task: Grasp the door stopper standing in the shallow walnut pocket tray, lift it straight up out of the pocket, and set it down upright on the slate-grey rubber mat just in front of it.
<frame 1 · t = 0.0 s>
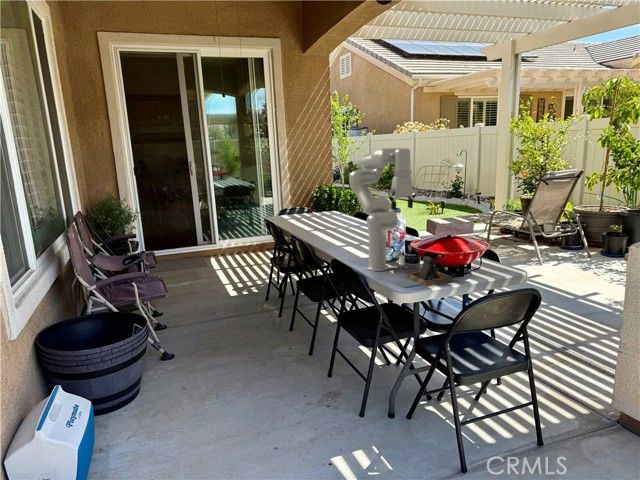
hand: (402, 208, 222), 37 cm above the table, tool pointing down, fingers open, 9 cm apart
rubber mat: (406, 283, 221), on the table
pocket block: (428, 279, 226), on the table
door stopper: (428, 280, 226), resting in pocket block
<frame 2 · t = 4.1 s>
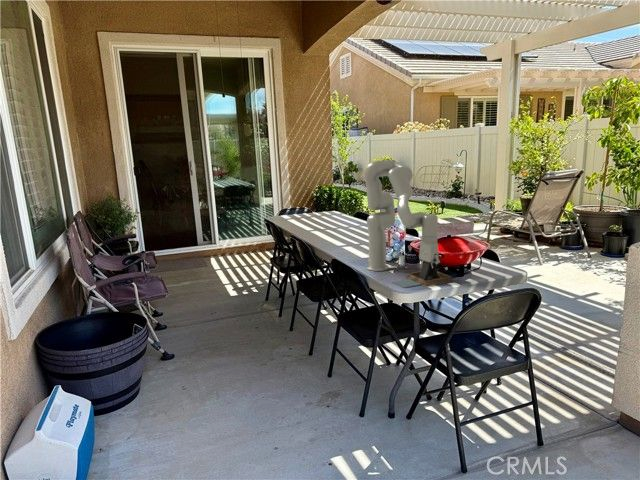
hand: (428, 273, 225), 4 cm above the table, tool pointing down, fingers closed on door stopper, 6 cm apart
door stopper: (428, 280, 226), resting in pocket block, touching gripper
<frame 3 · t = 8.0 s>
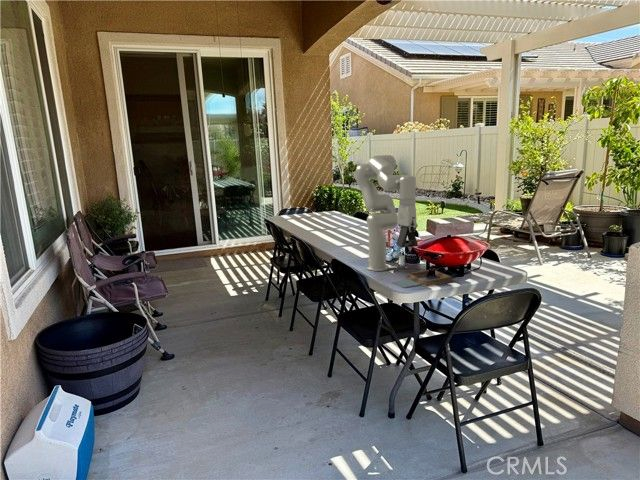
hand: (407, 238, 216), 23 cm above the table, tool pointing down, fingers closed on door stopper, 6 cm apart
door stopper: (406, 246, 217), point 19 cm above the table, touching gripper
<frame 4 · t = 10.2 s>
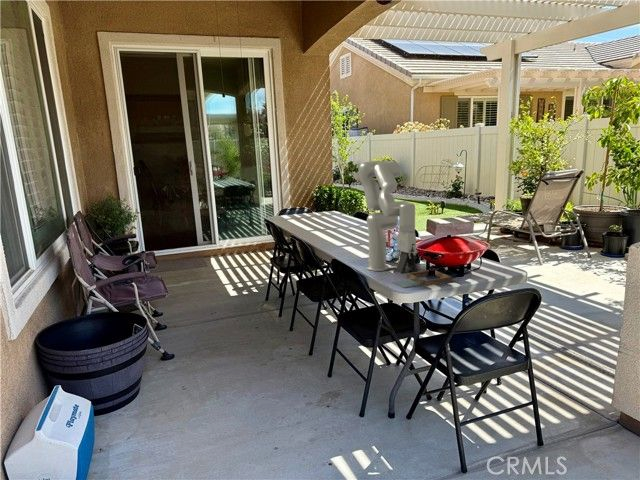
hand: (406, 264, 219), 10 cm above the table, tool pointing down, fingers closed on door stopper, 6 cm apart
door stopper: (406, 271, 219), point 6 cm above the table, touching gripper
when the fingers open (5 cm above the table, at t = 12.1 s): door stopper drops 1 cm, resting on rubber mat.
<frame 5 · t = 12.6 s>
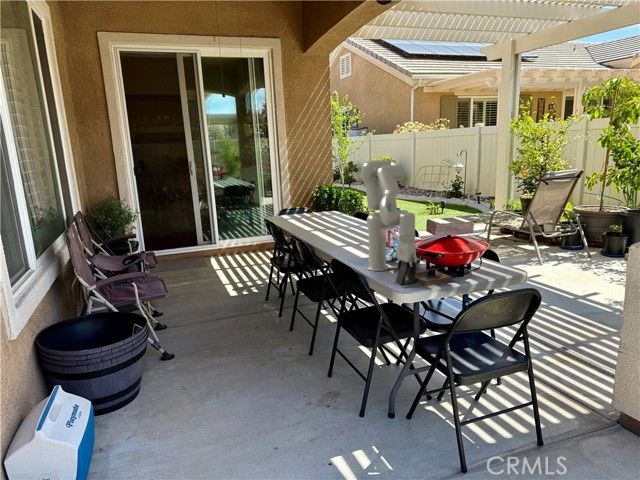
hand: (406, 271, 220), 6 cm above the table, tool pointing down, fingers open, 9 cm apart
door stopper: (406, 283, 221), resting on rubber mat
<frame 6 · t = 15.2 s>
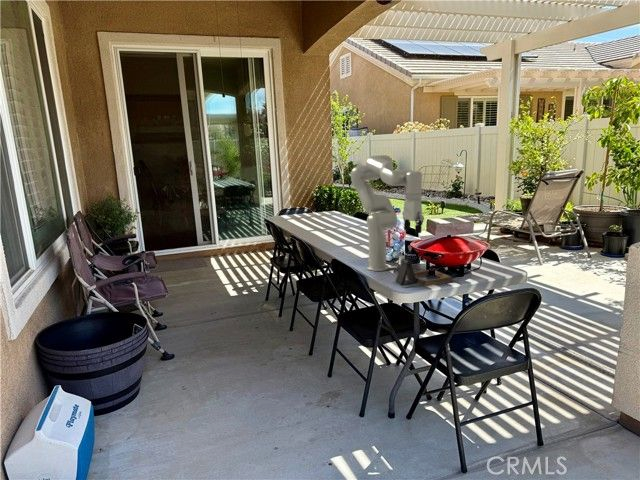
hand: (412, 231, 220), 26 cm above the table, tool pointing down, fingers open, 9 cm apart
nothing on the table moved.
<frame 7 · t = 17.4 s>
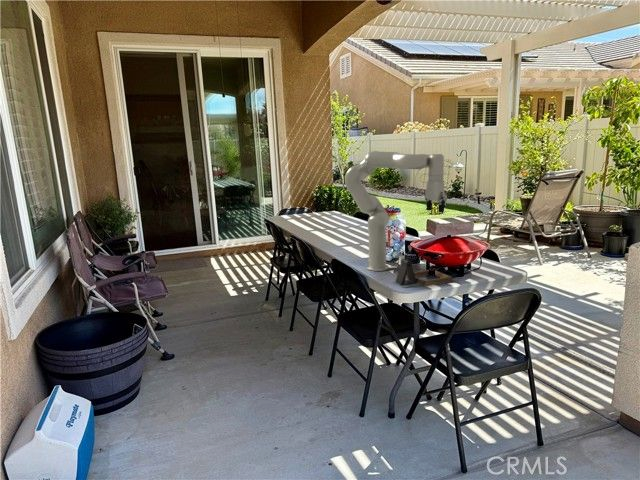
hand: (435, 211, 233), 33 cm above the table, tool pointing down, fingers open, 9 cm apart
nothing on the table moved.
at the end: door stopper inside the target area on the rubber mat (0.3 cm from its centre), point 0.3 cm above the rubber mat's base; door stopper tilted 0°; the gripper is holding nothing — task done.
